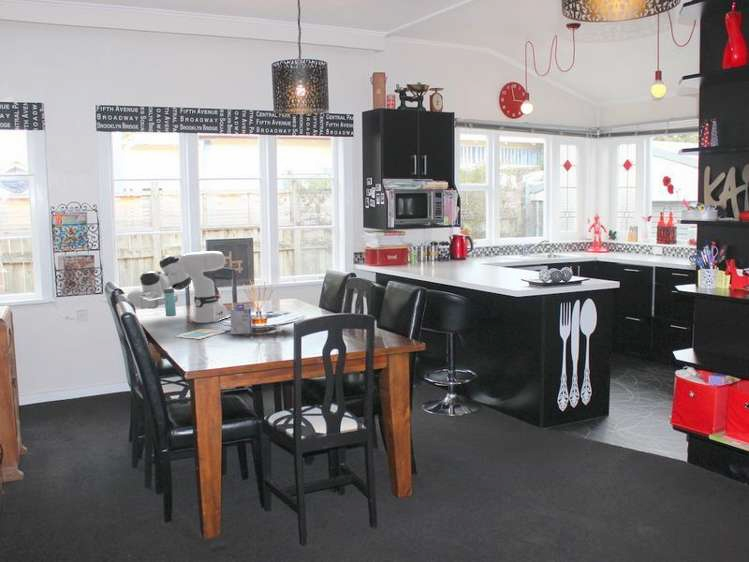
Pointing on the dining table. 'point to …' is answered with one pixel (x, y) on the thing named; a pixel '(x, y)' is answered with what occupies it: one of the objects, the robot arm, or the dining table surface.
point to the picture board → (200, 334)
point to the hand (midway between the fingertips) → (171, 301)
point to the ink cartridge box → (240, 320)
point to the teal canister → (170, 302)
